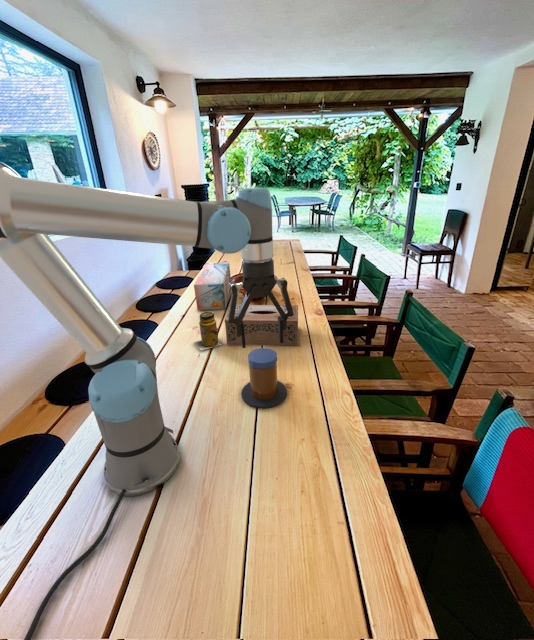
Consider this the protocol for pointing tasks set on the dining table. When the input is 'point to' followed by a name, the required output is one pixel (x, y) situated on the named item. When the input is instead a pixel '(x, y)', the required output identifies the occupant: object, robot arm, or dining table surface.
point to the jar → (263, 382)
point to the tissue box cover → (263, 327)
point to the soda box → (213, 286)
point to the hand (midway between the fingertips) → (262, 343)
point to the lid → (262, 358)
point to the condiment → (208, 331)
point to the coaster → (264, 403)
